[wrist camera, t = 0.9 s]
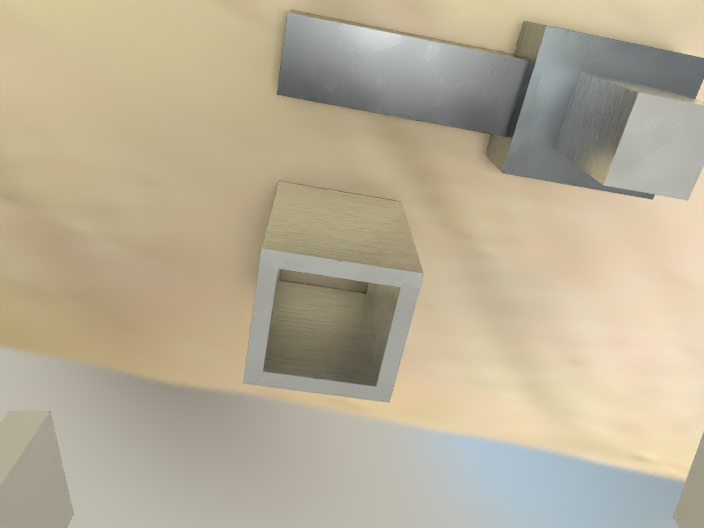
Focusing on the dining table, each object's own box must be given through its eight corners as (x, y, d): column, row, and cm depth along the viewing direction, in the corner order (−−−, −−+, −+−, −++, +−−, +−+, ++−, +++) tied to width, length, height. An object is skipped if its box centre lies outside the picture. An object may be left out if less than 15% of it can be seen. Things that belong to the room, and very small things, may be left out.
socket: (264, 290, 31) (243, 383, 24) (279, 181, 28) (261, 248, 21) (376, 306, 32) (389, 402, 24) (400, 201, 29) (423, 273, 22)
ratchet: (276, 117, 27) (257, 165, 20) (295, -27, 25) (281, -30, 17) (622, 179, 29) (719, 244, 22) (672, 52, 26) (801, 77, 19)
